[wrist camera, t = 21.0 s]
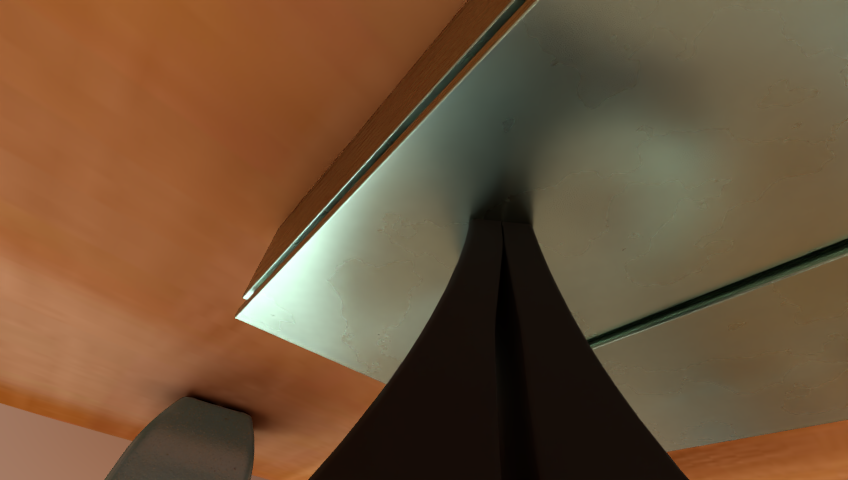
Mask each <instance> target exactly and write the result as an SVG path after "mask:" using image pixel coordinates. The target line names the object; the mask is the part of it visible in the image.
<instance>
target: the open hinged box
mask: <svg viewBox="0 0 848 480" xmlns="http://www.w3.org/2000/svg"><path fill="white" fill-rule="evenodd" d="M525 1H526V0H468V1H467V3H466V4H465V5H464V6H463V7H462V9H461V10H460V11H459V12H458V13H457V15H456V16H455V17H454V18H453V19H452V21H451V22H450V23H449V24H448V25H447V27H446V28H445V29H444V30H443V31H442V33H441V34H440V35H439V36H438V37H437V39H436V40H435V41H434V42H433V44H432V45H431V46H430V47H429V48H428V50H427V51H426V52H425V53H424V54H423V56H422V57H421V58H420V59H419V60H418V62H417V63H416V64H415V65H414V66H413V68H412V69H411V70H410V71H409V72H408V74H407V75H406V76H405V77H404V78H403V80H402V81H401V82H400V83H399V84H398V86H397V87H396V88H395V89H394V90H393V92H392V93H391V94H390V95H389V96H388V98H387V99H386V100H385V101H384V102H383V104H382V105H381V106H380V107H379V108H378V110H377V111H376V112H375V113H374V114H373V116H372V117H371V118H370V119H369V120H368V122H367V123H366V124H365V125H364V127H363V128H362V129H361V130H360V131H359V133H358V134H357V135H356V136H355V137H354V139H353V140H352V141H351V142H350V143H349V145H348V146H347V147H346V148H345V149H344V151H343V152H342V153H341V154H340V155H339V157H338V158H337V159H336V160H335V161H334V163H333V164H332V165H331V166H330V167H329V169H328V170H327V171H326V172H325V173H324V175H323V176H322V177H321V178H320V179H319V181H318V182H317V183H316V184H315V185H314V187H313V188H312V189H311V190H310V191H309V193H308V194H307V195H306V196H305V197H304V199H303V200H302V201H301V202H300V203H299V205H298V206H297V207H296V208H295V210H294V211H293V212H292V213H291V214H290V216H289V217H288V218H287V219H286V220H285V222H284V223H283V224H282V225H281V226H280V228H279V229H278V230H277V232H276V234H275V236H274V238H273V240H272V242H271V244H270V246H269V247H268V249H267V251H266V253H265V255H264V257H263V259H262V261H261V263H260V264H259V266H258V268H257V270H256V272H255V274H254V276H253V278H252V280H251V281H250V283H249V285H248V287H247V289H246V291H245V293H244V295H243V298H244V299H246V300H247V299H248V298H249V297H250V296H251V295H252V294H253V293H254V292H255V291H256V290H257V289H258V288H259V286H260V285H261V284H262V283H263V282H264V281H265V280H266V279H267V278H268V277H269V276H270V275H271V274H272V273H273V271H274V270H275V269H276V268H277V267H278V266H279V265H280V264H281V263H282V262H283V261H284V260H285V259H286V258H287V256H288V255H289V254H290V253H291V252H292V251H293V250H294V249H295V248H296V247H297V246H298V245H299V244H300V243H301V241H302V240H303V239H304V238H305V237H306V236H307V235H308V234H309V233H310V232H311V231H312V230H313V229H314V228H315V226H316V225H317V224H318V223H319V222H320V221H321V220H322V219H323V218H324V217H325V216H326V215H327V214H328V213H329V211H330V210H331V209H332V208H333V207H334V206H335V205H336V204H337V203H338V202H339V201H340V200H341V199H342V198H343V196H344V195H345V194H346V193H347V192H348V191H349V190H350V189H351V188H352V187H353V186H354V185H355V184H356V182H357V181H358V180H359V179H360V178H361V177H362V176H363V175H364V174H365V173H366V172H367V171H368V170H369V169H370V167H371V166H372V165H373V164H374V163H375V162H376V161H377V160H378V159H379V158H380V157H381V156H382V155H383V154H384V152H385V151H386V150H387V149H388V148H389V147H390V146H391V145H392V144H393V143H394V142H395V141H396V140H397V139H398V137H399V136H400V135H401V134H402V133H403V132H404V131H405V130H406V129H407V128H408V127H409V126H410V125H411V124H412V122H413V121H414V120H415V119H416V118H417V117H418V116H419V115H420V114H421V113H422V112H423V111H424V110H425V109H426V107H427V106H428V105H429V104H430V103H431V102H432V101H433V100H434V99H435V98H436V97H437V96H438V95H439V94H440V92H441V91H442V90H443V89H444V88H445V87H446V86H447V85H448V84H449V83H450V82H451V81H452V80H453V79H454V77H455V76H456V75H457V74H458V73H459V72H460V71H461V70H462V69H463V68H464V67H465V66H466V65H467V64H468V62H469V61H470V60H471V59H472V58H473V57H474V56H475V55H476V54H477V53H478V52H479V51H480V50H481V49H482V47H483V46H484V45H485V44H486V43H487V42H488V41H489V40H490V39H491V38H492V37H493V36H494V35H495V34H496V32H497V31H498V30H499V29H500V28H501V27H502V26H503V25H504V24H505V23H506V22H507V21H508V20H509V19H510V17H511V16H512V15H513V14H514V13H515V12H516V11H517V10H518V9H519V8H520V7H521V6H522V5H523V4H524V2H525ZM587 342H588V343H589V345H590V347H591V348H592V350H593V351H594V353H595V355H596V356H597V358H598V359H599V361H600V363H601V364H602V366H603V367H604V369H605V370H606V372H607V373H608V375H609V376H610V378H611V379H612V381H613V382H614V384H615V385H616V386H617V388H618V389H619V391H620V392H621V394H622V395H623V396H624V398H625V399H626V400H627V402H628V403H629V405H630V406H631V407H632V409H633V410H634V412H635V413H636V414H637V416H638V417H639V418H640V420H641V421H642V422H643V423H644V425H645V426H646V427H647V428H648V430H649V431H650V432H651V433H652V435H653V436H654V437H655V438H656V440H657V441H658V442H659V444H660V445H661V446H662V447H663V449H664V450H665V451H666V452H668V451H674V450H680V449H685V448H691V447H696V446H702V445H708V444H713V443H719V442H725V441H730V440H736V439H742V438H747V437H753V436H758V435H764V434H770V433H775V432H781V431H787V430H792V429H798V428H804V427H809V426H815V425H820V424H826V423H832V422H837V421H843V420H848V238H847V239H845V240H842V241H840V242H837V243H835V244H832V245H829V246H827V247H824V248H822V249H819V250H817V251H814V252H811V253H809V254H806V255H804V256H801V257H799V258H796V259H794V260H791V261H788V262H786V263H783V264H781V265H778V266H776V267H773V268H770V269H768V270H765V271H763V272H760V273H758V274H755V275H752V276H750V277H747V278H745V279H742V280H740V281H737V282H735V283H732V284H729V285H727V286H724V287H722V288H719V289H717V290H714V291H711V292H709V293H706V294H704V295H701V296H699V297H696V298H693V299H691V300H688V301H686V302H683V303H681V304H678V305H676V306H673V307H670V308H668V309H665V310H663V311H660V312H658V313H655V314H652V315H650V316H647V317H645V318H642V319H640V320H637V321H634V322H632V323H629V324H627V325H624V326H622V327H619V328H616V329H614V330H611V331H609V332H606V333H604V334H601V335H599V336H596V337H593V338H591V339H588V340H587Z"/></svg>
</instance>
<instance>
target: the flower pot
mask: <svg viewBox="0 0 848 480" xmlns="http://www.w3.org/2000/svg"><path fill="white" fill-rule="evenodd" d="M253 460H254V432H253V424H252V418H251V416H249V415H248V414H246V413H244V412H238V411H234V410H231V409H227V408H224V407H220V406H217V405H214V404H210V403H207V402H204V401H200V400H198V399H196V398H192V397H183V398H181V399H179V400H178V401H176V402H175V403H173V404H172V405H171V406H169V407H168V408H167V409H165V410H164V411H163V412H162V413H160V414H159V415H158V416H157V417H156V418H155V419H153V420H152V421H151V422H150V423H149V424H148V425H147V426H146V427H145V428H144V429H143V430H142V431H141V432H140V433H139V434H138V436H137V437H136V438H135V439H134V440H133V441H132V443H131V444H130V445H129V446H128V448H127V449H126V450H125V452H124V453H123V454H122V456H121V457H120V458H119V460H118V461H117V463H116V464H115V466H114V467H113V468H112V470H111V471H110V473H109V474H108V475H107V477H106V478H105V480H250V479H251V474H252V468H253Z"/></svg>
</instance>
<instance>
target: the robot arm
mask: <svg viewBox="0 0 848 480" xmlns="http://www.w3.org/2000/svg"><path fill="white" fill-rule="evenodd" d="M308 480H689V479H688V478H687V477H686V476H685V475H684V473H683V472H682V471H681V470H680V469H679V467H678V466H677V465H676V464H675V462H674V461H673V460H672V459H671V457H670V456H669V455H668V454H667V452H666V451H665V450H664V449H663V447H662V446H661V445H660V444H659V442H658V441H657V440H656V438H655V437H654V436H653V435H652V433H651V432H650V431H649V430H648V428H647V427H646V426H645V425H644V423H643V422H642V421H641V420H640V418H639V417H638V416H637V414H636V413H635V412H634V410H633V409H632V407H631V406H630V405H629V403H628V402H627V400H626V399H625V398H624V396H623V395H622V394H621V392H620V391H619V389H618V388H617V386H616V385H615V384H614V382H613V381H612V379H611V378H610V376H609V375H608V373H607V372H606V370H605V369H604V367H603V366H602V364H601V363H600V361H599V359H598V358H597V356H596V355H595V353H594V351H593V350H592V348H591V347H590V345H589V343H588V342H587V340H586V338H585V336H584V335H583V333H582V331H581V330H580V328H579V326H578V324H577V323H576V321H575V319H574V317H573V315H572V314H571V312H570V310H569V308H568V306H567V304H566V302H565V300H564V298H563V296H562V294H561V292H560V290H559V288H558V286H557V284H556V282H555V280H554V278H553V276H552V274H551V272H550V269H549V267H548V265H547V263H546V260H545V258H544V256H543V253H542V251H541V248H540V246H539V243H538V241H537V238H536V235H535V232H534V229H533V228H532V227H531V225H530V224H522V223H512V222H503V223H502V226H501V221H493V220H483V219H473V220H471V221H469V224H468V231H467V236H466V240H465V243H464V246H463V249H462V252H461V254H460V257H459V260H458V262H457V264H456V267H455V269H454V271H453V273H452V276H451V278H450V280H449V282H448V285H447V287H446V289H445V291H444V293H443V295H442V296H441V298H440V300H439V302H438V304H437V306H436V308H435V309H434V311H433V313H432V315H431V317H430V319H429V320H428V322H427V324H426V325H425V327H424V329H423V330H422V332H421V334H420V335H419V337H418V339H417V340H416V342H415V343H414V345H413V346H412V348H411V350H410V351H409V353H408V354H407V356H406V357H405V359H404V360H403V362H402V363H401V364H400V366H399V367H398V369H397V370H396V372H395V373H394V374H393V376H392V377H391V379H390V380H389V382H388V383H387V384H386V386H385V387H384V389H383V390H382V391H381V393H380V394H379V395H378V397H377V398H376V399H375V401H374V402H373V403H372V404H371V406H370V407H369V408H368V409H367V411H366V412H365V413H364V414H363V416H362V417H361V418H360V419H359V421H358V422H357V423H356V424H355V426H354V427H353V428H352V429H351V431H350V432H349V433H348V434H347V436H346V437H345V438H344V439H343V441H342V442H341V443H340V444H339V445H338V447H337V448H336V449H335V450H334V451H333V452H332V454H331V455H330V456H329V457H328V458H327V459H326V460H325V461H324V463H323V464H322V465H321V466H320V467H319V468H318V469H317V470H316V472H315V473H314V474H313V475H312V476H311V477H310V478H309V479H308Z"/></svg>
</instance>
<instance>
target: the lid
mask: <svg viewBox="0 0 848 480" xmlns="http://www.w3.org/2000/svg"><path fill="white" fill-rule="evenodd" d="M473 219H483V220H493V221H501V226H502V223H503V222H512V223H522V224H530V225H531V227H532V228H533V229H534V232H535V235H536V238H537V241H538V243H539V246H540V248H541V251H542V253H543V256H544V258H545V260H546V263H547V265H548V267H549V269H550V272H551V274H552V276H553V278H554V280H555V282H556V284H557V286H558V288H559V290H560V292H561V294H562V296H563V298H564V300H565V302H566V304H567V306H568V308H569V310H570V312H571V314H572V315H573V317H574V319H575V321H576V323H577V324H578V326H579V328H580V330H581V331H582V333H583V335H584V336H585V338H586V340H588V339H591V338H593V337H596V336H599V335H601V334H604V333H606V332H609V331H611V330H614V329H616V328H619V327H622V326H624V325H627V324H629V323H632V322H634V321H637V320H640V319H642V318H645V317H647V316H650V315H652V314H655V313H658V312H660V311H663V310H665V309H668V308H670V307H673V306H676V305H678V304H681V303H683V302H686V301H688V300H691V299H693V298H696V297H699V296H701V295H704V294H706V293H709V292H711V291H714V290H717V289H719V288H722V287H724V286H727V285H729V284H732V283H735V282H737V281H740V280H742V279H745V278H747V277H750V276H752V275H755V274H758V273H760V272H763V271H765V270H768V269H770V268H773V267H776V266H778V265H781V264H783V263H786V262H788V261H791V260H794V259H796V258H799V257H801V256H804V255H806V254H809V253H811V252H814V251H817V250H819V249H822V248H824V247H827V246H829V245H832V244H835V243H837V242H840V241H842V240H845V239H847V238H848V0H526V1H525V2H524V4H523V5H522V6H521V7H520V8H519V9H518V10H517V11H516V12H515V13H514V14H513V15H512V16H511V17H510V19H509V20H508V21H507V22H506V23H505V24H504V25H503V26H502V27H501V28H500V29H499V30H498V31H497V32H496V34H495V35H494V36H493V37H492V38H491V39H490V40H489V41H488V42H487V43H486V44H485V45H484V46H483V47H482V49H481V50H480V51H479V52H478V53H477V54H476V55H475V56H474V57H473V58H472V59H471V60H470V61H469V62H468V64H467V65H466V66H465V67H464V68H463V69H462V70H461V71H460V72H459V73H458V74H457V75H456V76H455V77H454V79H453V80H452V81H451V82H450V83H449V84H448V85H447V86H446V87H445V88H444V89H443V90H442V91H441V92H440V94H439V95H438V96H437V97H436V98H435V99H434V100H433V101H432V102H431V103H430V104H429V105H428V106H427V107H426V109H425V110H424V111H423V112H422V113H421V114H420V115H419V116H418V117H417V118H416V119H415V120H414V121H413V122H412V124H411V125H410V126H409V127H408V128H407V129H406V130H405V131H404V132H403V133H402V134H401V135H400V136H399V137H398V139H397V140H396V141H395V142H394V143H393V144H392V145H391V146H390V147H389V148H388V149H387V150H386V151H385V152H384V154H383V155H382V156H381V157H380V158H379V159H378V160H377V161H376V162H375V163H374V164H373V165H372V166H371V167H370V169H369V170H368V171H367V172H366V173H365V174H364V175H363V176H362V177H361V178H360V179H359V180H358V181H357V182H356V184H355V185H354V186H353V187H352V188H351V189H350V190H349V191H348V192H347V193H346V194H345V195H344V196H343V198H342V199H341V200H340V201H339V202H338V203H337V204H336V205H335V206H334V207H333V208H332V209H331V210H330V211H329V213H328V214H327V215H326V216H325V217H324V218H323V219H322V220H321V221H320V222H319V223H318V224H317V225H316V226H315V228H314V229H313V230H312V231H311V232H310V233H309V234H308V235H307V236H306V237H305V238H304V239H303V240H302V241H301V243H300V244H299V245H298V246H297V247H296V248H295V249H294V250H293V251H292V252H291V253H290V254H289V255H288V256H287V258H286V259H285V260H284V261H283V262H282V263H281V264H280V265H279V266H278V267H277V268H276V269H275V270H274V271H273V273H272V274H271V275H270V276H269V277H268V278H267V279H266V280H265V281H264V282H263V283H262V284H261V285H260V286H259V288H258V289H257V290H256V291H255V292H254V293H253V294H252V295H251V296H250V297H249V298H248V299H247V300H246V301H245V303H244V304H243V305H242V306H241V307H240V308H239V309H238V311H237V313H236V315H235V318H236V319H239V320H241V321H243V322H246V323H248V324H250V325H252V326H255V327H257V328H259V329H262V330H264V331H266V332H268V333H271V334H273V335H275V336H278V337H280V338H282V339H284V340H287V341H289V342H291V343H294V344H296V345H298V346H300V347H303V348H305V349H307V350H309V351H312V352H314V353H316V354H319V355H321V356H323V357H325V358H328V359H330V360H332V361H335V362H337V363H339V364H341V365H344V366H346V367H348V368H351V369H353V370H355V371H357V372H360V373H362V374H364V375H366V376H369V377H371V378H373V379H376V380H378V381H380V382H382V383H385V384H387V383H388V382H389V380H390V379H391V377H392V376H393V374H394V373H395V372H396V370H397V369H398V367H399V366H400V364H401V363H402V362H403V360H404V359H405V357H406V356H407V354H408V353H409V351H410V350H411V348H412V346H413V345H414V343H415V342H416V340H417V339H418V337H419V335H420V334H421V332H422V330H423V329H424V327H425V325H426V324H427V322H428V320H429V319H430V317H431V315H432V313H433V311H434V309H435V308H436V306H437V304H438V302H439V300H440V298H441V296H442V295H443V293H444V291H445V289H446V287H447V285H448V282H449V280H450V278H451V276H452V273H453V271H454V269H455V267H456V264H457V262H458V260H459V257H460V254H461V252H462V249H463V246H464V243H465V240H466V236H467V231H468V224H469V221H471V220H473Z"/></svg>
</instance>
